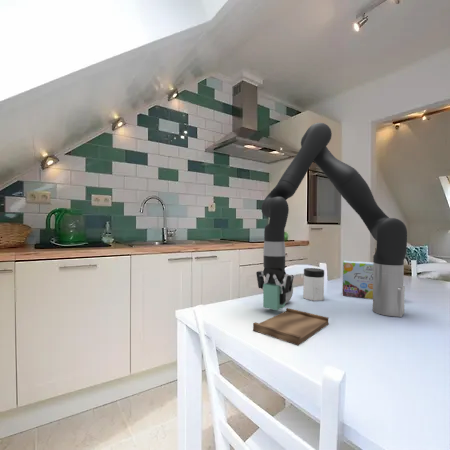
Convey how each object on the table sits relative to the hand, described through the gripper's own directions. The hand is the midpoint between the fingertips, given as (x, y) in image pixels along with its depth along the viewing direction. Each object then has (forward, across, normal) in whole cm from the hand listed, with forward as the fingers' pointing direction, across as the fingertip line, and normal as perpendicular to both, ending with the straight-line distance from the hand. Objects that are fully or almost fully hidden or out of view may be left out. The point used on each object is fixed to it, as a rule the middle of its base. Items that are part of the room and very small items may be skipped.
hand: (274, 302), depth 95 cm
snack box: (+4, -20, -45) cm, 49 cm away
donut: (+3, +2, -11) cm, 12 cm away
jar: (+4, -3, -27) cm, 27 cm away
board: (+3, -12, +9) cm, 15 cm away
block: (+2, 0, 0) cm, 2 cm away
